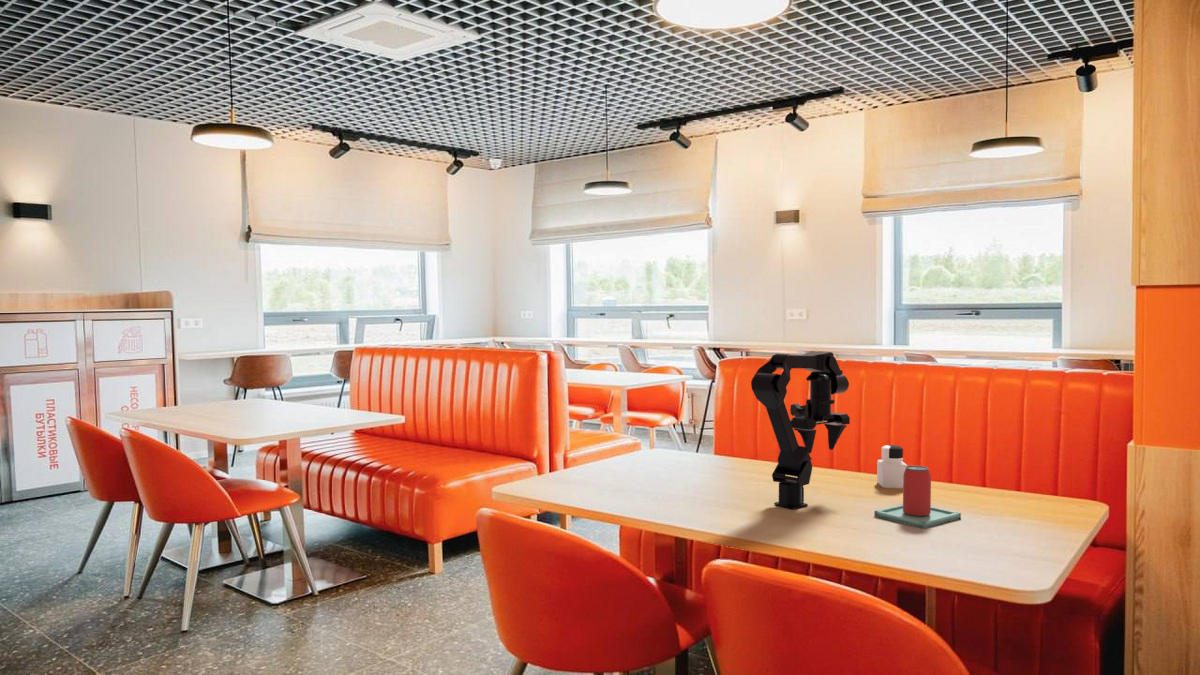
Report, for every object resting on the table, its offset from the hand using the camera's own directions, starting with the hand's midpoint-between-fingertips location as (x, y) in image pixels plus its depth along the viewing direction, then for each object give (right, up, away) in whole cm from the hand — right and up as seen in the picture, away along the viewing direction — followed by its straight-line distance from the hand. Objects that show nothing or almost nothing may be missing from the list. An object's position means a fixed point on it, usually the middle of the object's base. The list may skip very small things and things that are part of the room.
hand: (820, 451), depth 230 cm
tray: (+19, -14, -21) cm, 32 cm away
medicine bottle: (+25, -13, +15) cm, 32 cm away
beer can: (+19, -13, -21) cm, 31 cm away
